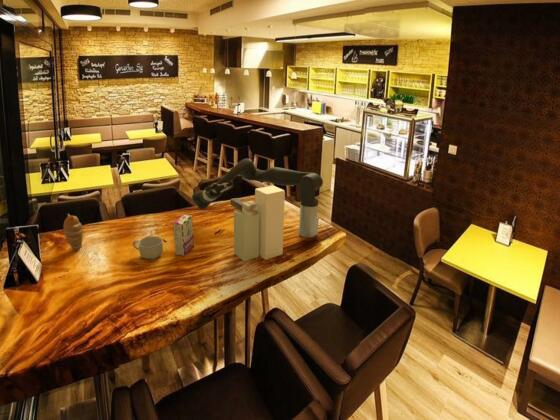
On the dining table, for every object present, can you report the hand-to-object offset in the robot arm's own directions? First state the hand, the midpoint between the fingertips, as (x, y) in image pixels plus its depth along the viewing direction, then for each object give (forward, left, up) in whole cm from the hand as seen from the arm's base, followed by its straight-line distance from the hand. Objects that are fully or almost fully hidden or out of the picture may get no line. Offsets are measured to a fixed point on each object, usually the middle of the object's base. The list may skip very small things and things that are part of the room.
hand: (224, 183), depth 187 cm
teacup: (+39, -4, -30) cm, 49 cm away
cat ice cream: (+65, -28, -30) cm, 76 cm away
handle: (0, +18, -8) cm, 19 cm away
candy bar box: (+23, 0, -30) cm, 38 cm away
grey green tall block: (+1, +21, -30) cm, 36 cm away
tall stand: (-9, +25, -30) cm, 40 cm away
